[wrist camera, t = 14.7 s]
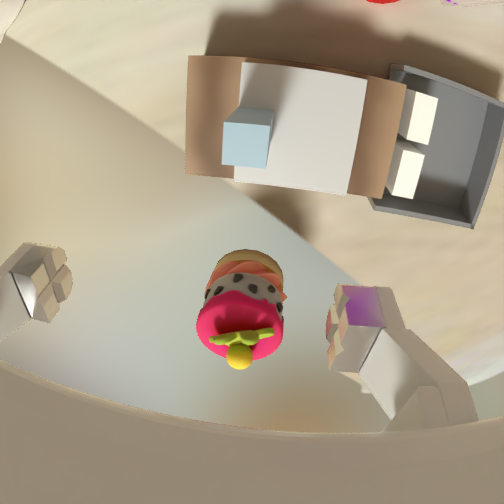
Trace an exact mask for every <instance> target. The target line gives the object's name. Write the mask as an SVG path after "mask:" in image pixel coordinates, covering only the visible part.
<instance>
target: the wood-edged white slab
mask: <svg viewBox="0 0 504 504" xmlns="http://www.w3.org/2000/svg"><path fill="white" fill-rule="evenodd" d="M242 62H249V63H262V64H273V65H282V66H291V67H299V68H306V69H313V70H319V71H325V72H331V73H337V74H342V75H347V76H352V77H357V78H362V79H366V80H367V87H366V93H365V99H364V105H363V111H362V117H361V123H360V129H359V134H358V139H357V145H356V150H355V155H354V160H353V165H352V170H351V175H350V179H349V184H348V189H347V193H348V194H355V195H361V196H367V197H372V198H378V199H382V196H383V192H384V189H385V185H386V181H387V177H388V173H389V169H390V165H391V160H392V156H393V152H394V147H395V143H396V138H397V134H398V129H399V124H400V119H401V114H402V109H403V103H404V98H405V92H406V86H407V85H405V84H402V83H398V82H394V81H391V80H387V79H383V78H379V77H375V76H370V75H366V74H361V73H357V72H352V71H347V70H342V69H337V68H331V67H325V66H319V65H313V64H306V63H299V62H291V61H283V60H273V59H263V58H250V57H233V56H189V57H188V77H187V102H186V149H185V161H186V162H185V174H188V175H189V174H190V175H201V176H212V177H223V178H233V179H234V166H233V165H222V145H223V127H224V121H225V120H226V119H227V118H228V117H229V116H230V115H231V114H232V113H233V112H234V111H235V110H236V109H237V108H238V107H239V94H240V81H241V68H242Z"/></svg>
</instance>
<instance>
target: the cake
mask: <svg viewBox="0 0 504 504" xmlns="http://www.w3.org/2000/svg"><path fill="white" fill-rule="evenodd" d="M286 298H287V296H286V295H285V294H284V293H283V275H282V270H281V269H280V267H279V266H278V264H277V262H276V261H274V260H273V259H272V258H271V257H270V256H268V255H266V254H264V253H261V252H259V251H254V250H247V249H244V250H237V251H233V252H231V253H228V254H226V255H225V256H224V257H223V258H221V259H220V260H219V261H218V263H217V265H216V268H215V270H214V271H213V273H212V276H211V278H210V280H209V282H208V284H207V287H206V291H205V302H204V306H203V308H202V309H201V310H200V313H199V315H198V319H197V324H196V325H197V326H196V329H197V333H198V336H199V338H200V340H201V341H202V343H203V344H204V345H205V346H206V347H208V349H210V350H211V351H213V352H214V353H216V354H218V355H220V356H222V357H225V358H226V359H227V361H228V363H229V365H230V366H231V367H233V368H235V369H245V368H247V367H248V366H249V365H250V364H251V362H252V360H257V359H260V358H263V357H266V356H268V355H270V354H271V353H273V352H274V351H275V350H276V349H277V348H278V347H279V345H280V343H281V341H282V337H283V322H284V319H283V316H282V310H283V306H282V302H283V301H284V300H285V299H286Z"/></svg>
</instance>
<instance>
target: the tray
mask: <svg viewBox="0 0 504 504" xmlns="http://www.w3.org/2000/svg"><path fill="white" fill-rule="evenodd" d="M388 80H391V81H394V82H398V83H402V84H405V85H407V86H406V88H407V89H410V90H414V91H417V92H420V93H423V94H426V95H429V96H432V97H435V98H438V102H437V107H436V112H435V117H434V121H433V126H432V130H431V135H430V139H429V143H428V145H426V144H422V143H419V142H415V141H411V140H407V139H405V138H404V137H403V136H401V135H400V134H399V133H398V134H397V138H396V139H398V140H402V141H406V142H409V143H410V144H412V145H413V146H414V147H415V148H417V149H418V150H419V151H420V152H422V153H423V154H424V155H425V157H424V160H423V164H422V168H421V172H420V175H419V179H418V183H417V186H416V190H415V193H414V196H413V199H410V198H405V197H400V196H394V195H392V194H391V193H390V192H389V190H388V189H387V187H386V186H385V189H384V192H383V196H382V199H378V198H372V197H367V198H368V200H369V201H370V203H371V205H372V207H373V209H374V210H375V211H381V212H387V213H393V214H399V215H404V216H410V217H415V218H421V219H426V220H431V221H436V222H441V223H446V224H451V225H456V226H461V227H466V228H470V229H474V226H475V224H476V221H477V219H478V216H479V213H480V211H481V208H482V205H483V203H484V200H485V197H486V194H487V191H488V188H489V185H490V182H491V179H492V176H493V173H494V169H495V166H496V163H497V159H498V156H499V152H500V149H501V145H502V141H503V137H504V103H503V102H501V101H499V100H497V99H495V98H492V97H490V96H488V95H486V94H484V93H481V92H479V91H477V90H474V89H472V88H469V87H467V86H465V85H462V84H460V83H457V82H454V81H452V80H449V79H446V78H444V77H441V76H438V75H435V74H432V73H429V72H426V71H423V70H420V69H417V68H414V67H410V66H407V65H402V64H390V71H389V78H388Z"/></svg>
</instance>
